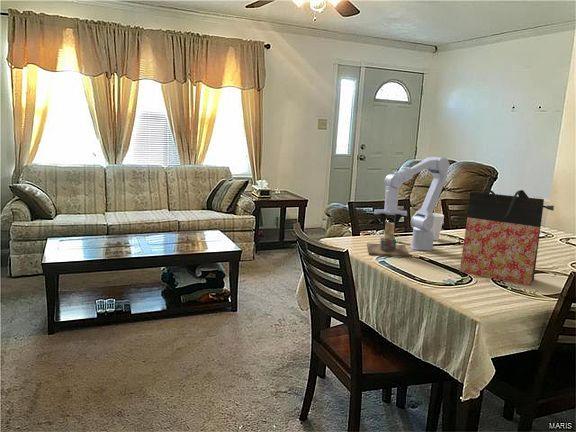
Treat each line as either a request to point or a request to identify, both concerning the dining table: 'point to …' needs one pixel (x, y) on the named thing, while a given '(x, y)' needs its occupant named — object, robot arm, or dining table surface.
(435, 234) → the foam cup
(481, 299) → the dining table surface
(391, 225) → the post
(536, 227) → the gift bag
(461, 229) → the dining table surface
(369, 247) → the stand base
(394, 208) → the robot arm
